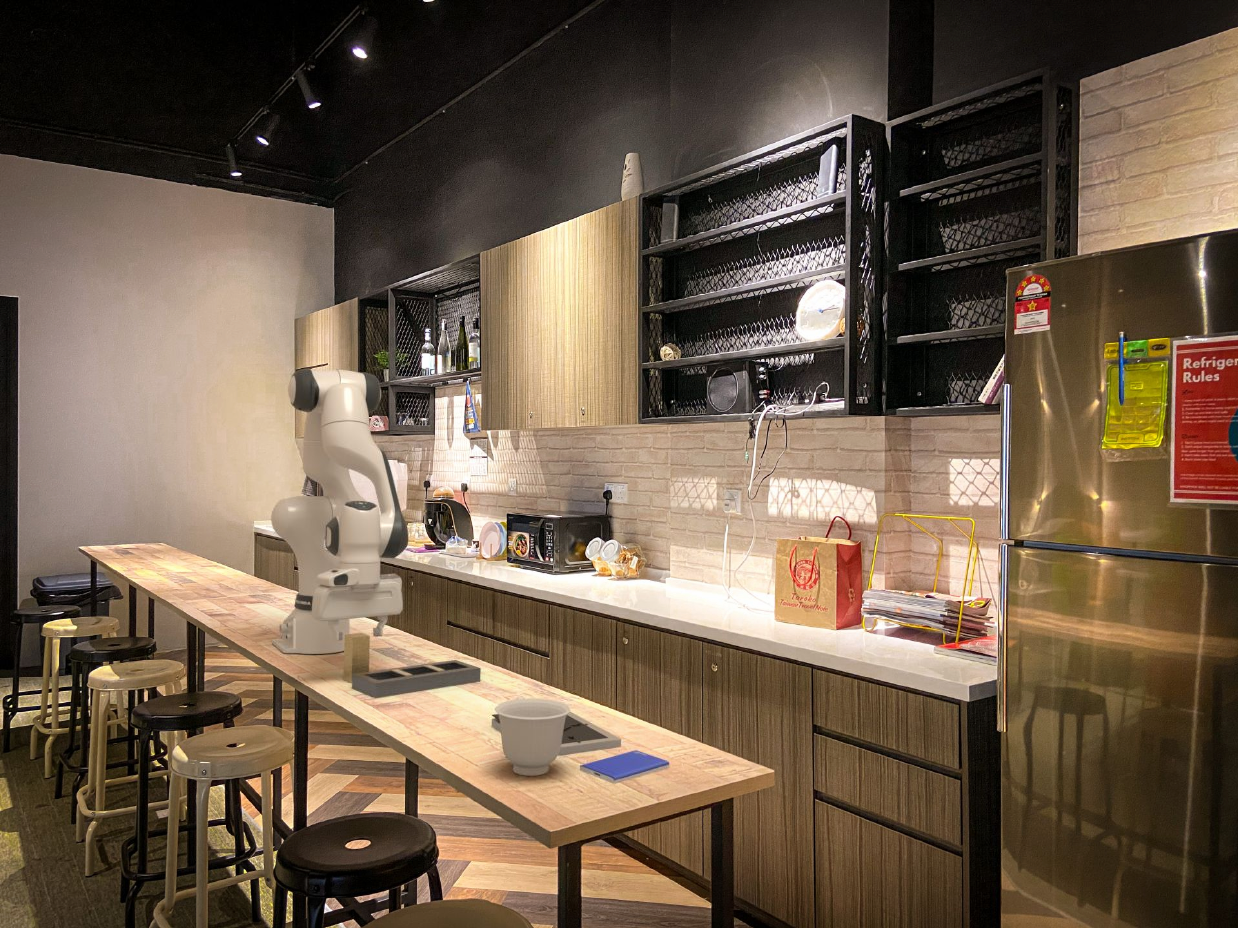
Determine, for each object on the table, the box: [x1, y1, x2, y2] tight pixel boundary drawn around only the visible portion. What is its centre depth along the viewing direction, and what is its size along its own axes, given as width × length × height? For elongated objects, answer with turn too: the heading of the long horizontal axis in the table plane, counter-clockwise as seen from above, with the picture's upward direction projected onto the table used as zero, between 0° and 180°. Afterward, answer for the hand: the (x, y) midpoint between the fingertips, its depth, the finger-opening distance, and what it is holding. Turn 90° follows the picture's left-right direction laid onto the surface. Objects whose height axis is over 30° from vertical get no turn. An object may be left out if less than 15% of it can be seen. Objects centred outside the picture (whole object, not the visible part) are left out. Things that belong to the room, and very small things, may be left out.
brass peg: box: [342, 632, 371, 685], centre depth 206 cm, size 4×4×10 cm
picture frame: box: [491, 711, 622, 757], centre depth 168 cm, size 16×3×21 cm
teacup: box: [494, 696, 571, 777], centre depth 150 cm, size 12×15×10 cm
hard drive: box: [579, 749, 670, 785], centre depth 151 cm, size 2×8×12 cm
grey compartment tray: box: [351, 659, 482, 699], centre depth 204 cm, size 10×26×3 cm, turn 132°
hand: (358, 638), depth 205 cm, fingers open, 8 cm apart
